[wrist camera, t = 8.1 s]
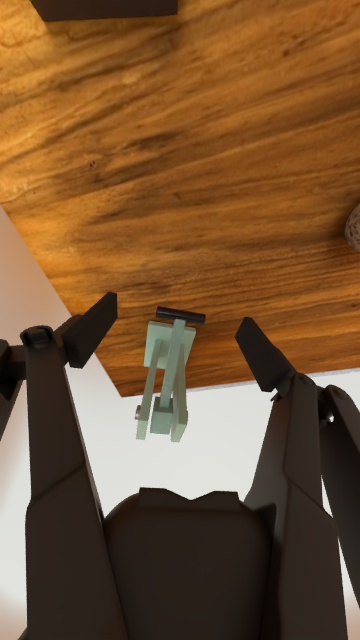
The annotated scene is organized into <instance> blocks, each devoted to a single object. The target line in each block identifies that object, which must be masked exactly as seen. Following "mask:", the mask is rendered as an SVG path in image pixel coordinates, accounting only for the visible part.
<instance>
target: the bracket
mask: <svg viewBox="0 0 360 640" xmlns="http://www.w3.org/2000/svg"><path fill="white" fill-rule="evenodd" d="M172 330H173V324H167V323H161V322H155V321H149V323H148V330H147V340H146V349H145V359H144V366H146V367H149V372H148V376H147V381H146V385H145V390H144V395H143V399H142V404H141V406H140V405H138V406H137V410H136V414H135V419H137V420H138V425H137V434H136V439H142V440H144V439H145V436H146V430H147V425H148V419H149V412H150V407H151V400H152V394H153V388H154V382H155V376H156V370H157V368H162V369H165V368H166V363H167V357H168V352H169V346H170V341H171V335H172ZM195 334H196V328H191V327H184V332H183V337H182V342H181V347H180V353H179V358H178V363H177V368H176V373H175V378H174V383H173V418H172V425H171V441H172V442H179V441H180V439H181V437H182V435H183V433H184V430H185V428H186V426H187V421H188V411H187V405H186V382H185V366H186V362H187V359H188V356H189V353H190V350H191V347H192V344H193V341H194V338H195Z"/></svg>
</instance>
